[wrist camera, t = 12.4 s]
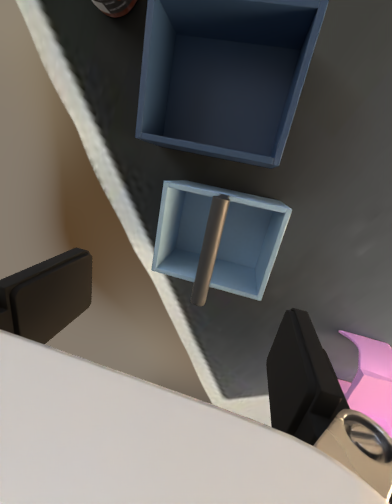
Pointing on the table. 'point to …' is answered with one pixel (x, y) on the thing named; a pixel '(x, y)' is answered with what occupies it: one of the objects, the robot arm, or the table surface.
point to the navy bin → (225, 75)
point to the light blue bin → (218, 238)
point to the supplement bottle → (115, 7)
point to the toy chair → (371, 381)
